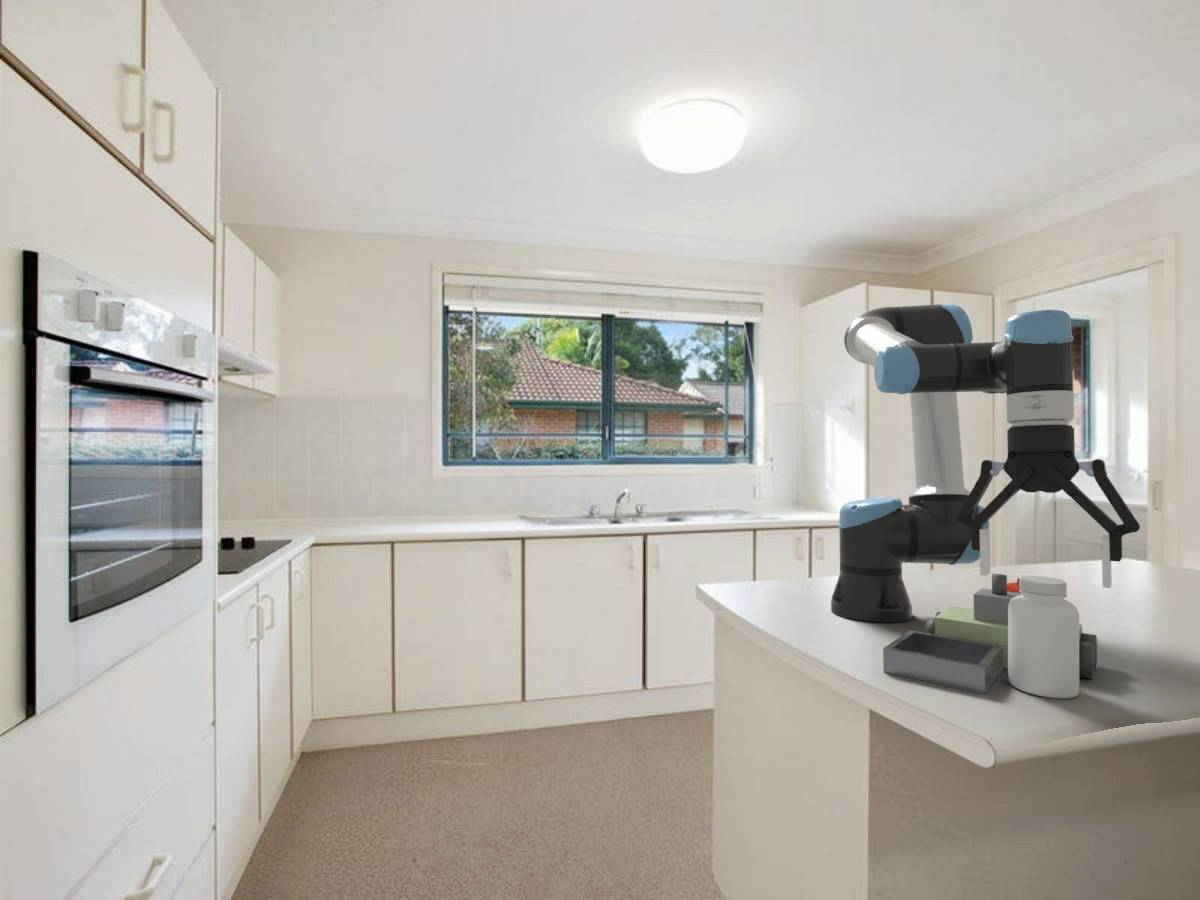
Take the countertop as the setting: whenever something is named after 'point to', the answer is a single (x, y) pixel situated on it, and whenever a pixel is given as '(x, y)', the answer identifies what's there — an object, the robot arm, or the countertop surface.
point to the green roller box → (998, 624)
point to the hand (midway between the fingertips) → (1043, 580)
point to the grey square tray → (944, 660)
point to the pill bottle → (1043, 639)
